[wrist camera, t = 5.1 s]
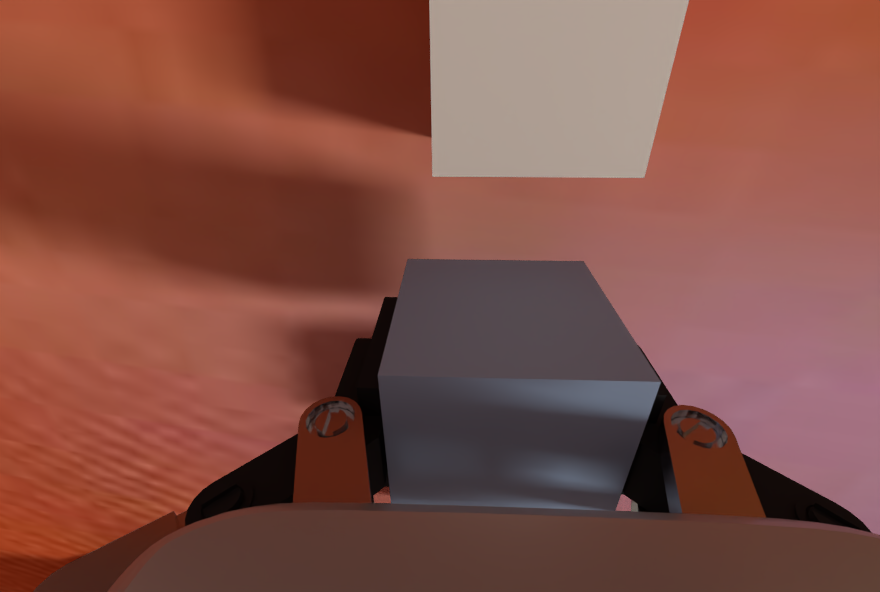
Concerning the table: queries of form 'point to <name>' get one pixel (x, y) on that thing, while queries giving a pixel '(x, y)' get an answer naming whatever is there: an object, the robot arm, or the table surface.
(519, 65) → the cream block
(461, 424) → the slate block
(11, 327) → the table surface
